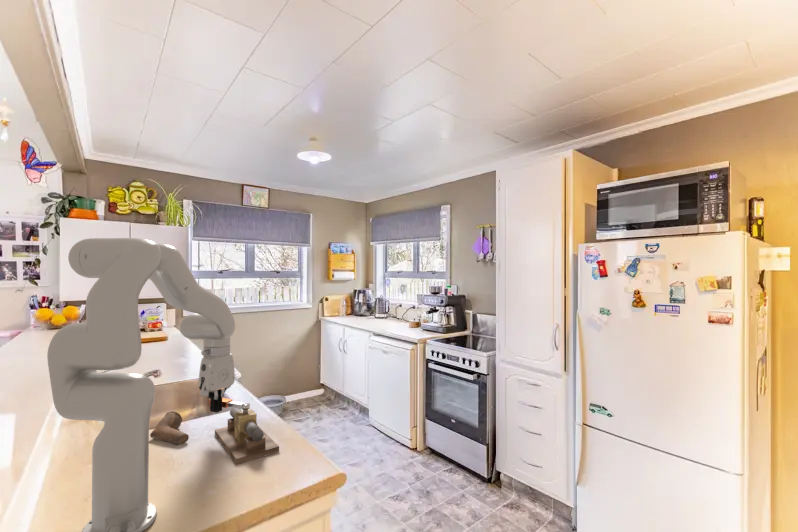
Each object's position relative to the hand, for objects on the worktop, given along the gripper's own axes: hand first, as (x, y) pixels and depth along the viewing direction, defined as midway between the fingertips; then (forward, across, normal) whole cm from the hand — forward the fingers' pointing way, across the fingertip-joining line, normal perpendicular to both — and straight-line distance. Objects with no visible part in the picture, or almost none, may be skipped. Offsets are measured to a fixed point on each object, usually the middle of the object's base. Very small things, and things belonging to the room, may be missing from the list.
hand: (216, 410), depth 117 cm
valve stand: (+10, +3, -8) cm, 13 cm away
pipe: (+10, -1, +16) cm, 19 cm away
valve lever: (-1, +3, -2) cm, 4 cm away
